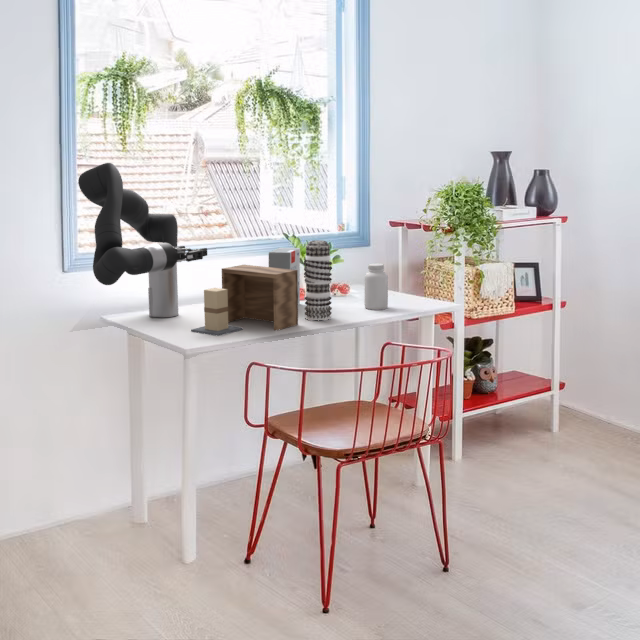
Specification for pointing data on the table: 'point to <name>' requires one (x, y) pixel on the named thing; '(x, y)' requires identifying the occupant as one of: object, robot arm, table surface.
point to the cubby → (262, 294)
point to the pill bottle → (376, 287)
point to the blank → (216, 309)
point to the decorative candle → (317, 280)
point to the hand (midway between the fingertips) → (195, 250)
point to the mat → (218, 333)
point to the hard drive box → (286, 261)
